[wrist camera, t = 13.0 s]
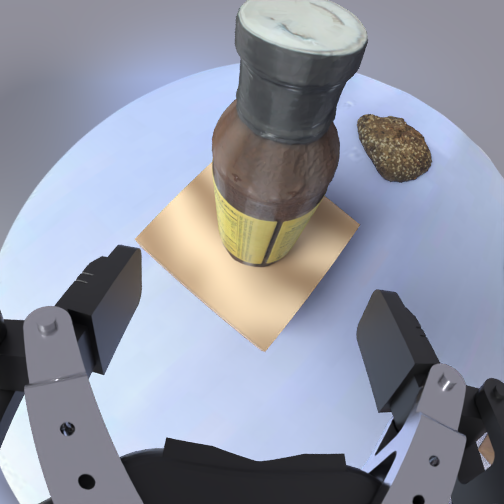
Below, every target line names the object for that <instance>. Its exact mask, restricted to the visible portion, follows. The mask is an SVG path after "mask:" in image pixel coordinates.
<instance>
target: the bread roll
mask: <svg viewBox="0 0 504 504" xmlns="http://www.w3.org/2000/svg"><path fill="white" fill-rule="evenodd" d="M357 123H358V124H357V127H358V133H359V139H360V141H361V143H362V145H363V147H364V149H365V151H366V153H367V155H368V156H369V157H370V159H371V160H372V162H373V163H374V165H375V167H376V169H377V171H378V172H379V173H380V175H381V176H382V177H383V178H384V179H386V180H389V181H390V182H391V181H397V182H403V181H408V180H415V179H417V177H419V176H420V175H422V174H423V173H425V172H426V171H428V169H429V167H430V166H431V163H432V160H431V153H430V150H429V148H428V146H427V145H426V142H425V140H424V137H423V136H422V134H420V133H419V132H418V131H417V130H415V129H414V128H413V127H411V126H409V125H407V124H406V122H405V121H404V119H403V118H397V117H393V116H388V117H384V118H382V117H378V116H375V115H373V114H372V115H371V114H367V115H363V116H361V117H360V118H359V119H358V122H357Z"/></svg>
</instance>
